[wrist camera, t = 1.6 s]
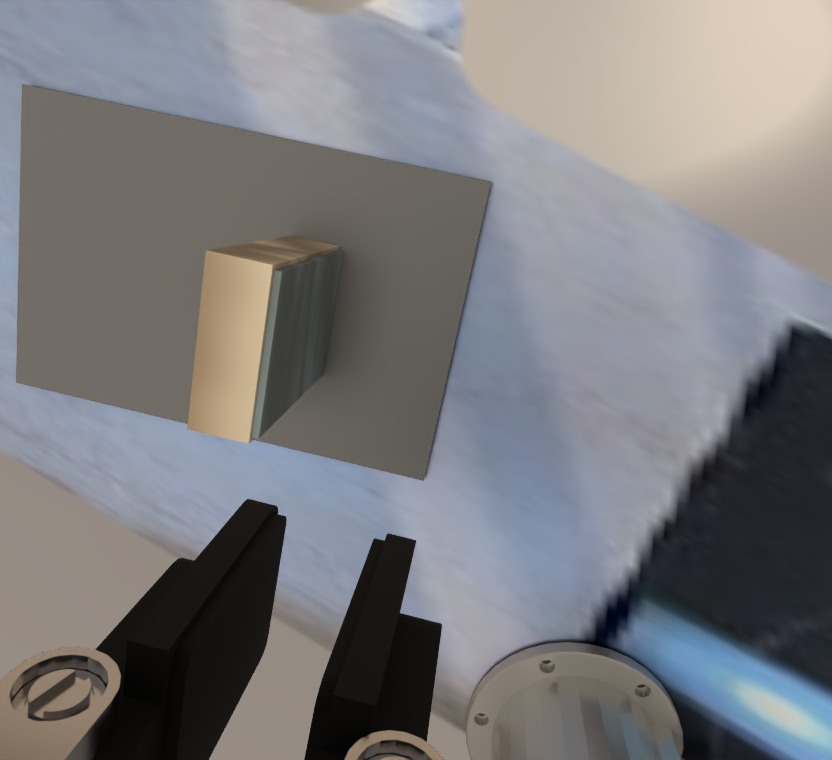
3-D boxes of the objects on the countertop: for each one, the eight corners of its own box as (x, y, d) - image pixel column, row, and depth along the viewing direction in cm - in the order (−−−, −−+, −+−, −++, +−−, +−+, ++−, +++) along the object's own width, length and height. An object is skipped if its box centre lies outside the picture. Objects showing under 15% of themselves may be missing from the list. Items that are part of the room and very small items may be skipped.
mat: (491, 182, 31) (491, 181, 31) (424, 475, 36) (423, 480, 35) (30, 85, 33) (22, 83, 32) (23, 379, 37) (16, 382, 37)
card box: (345, 247, 32) (280, 266, 23) (323, 377, 34) (255, 445, 25) (291, 235, 33) (205, 250, 23) (273, 365, 35) (187, 429, 25)
